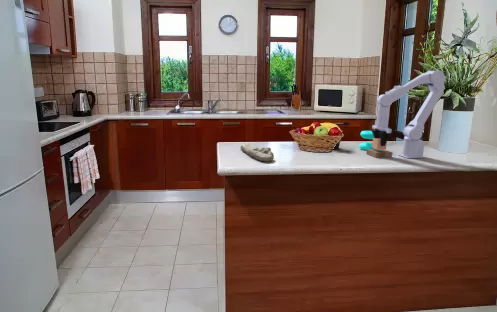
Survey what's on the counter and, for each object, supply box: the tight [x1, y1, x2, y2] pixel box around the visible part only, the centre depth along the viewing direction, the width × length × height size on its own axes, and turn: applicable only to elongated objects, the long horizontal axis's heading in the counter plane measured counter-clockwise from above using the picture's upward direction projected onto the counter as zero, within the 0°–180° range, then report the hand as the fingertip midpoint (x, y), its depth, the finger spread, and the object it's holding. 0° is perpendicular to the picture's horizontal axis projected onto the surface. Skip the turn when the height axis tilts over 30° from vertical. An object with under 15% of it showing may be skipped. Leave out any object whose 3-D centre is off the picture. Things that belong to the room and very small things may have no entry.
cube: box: [372, 138, 388, 150], centre depth 182 cm, size 5×5×5 cm
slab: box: [365, 149, 393, 159], centre depth 183 cm, size 9×9×3 cm
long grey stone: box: [240, 143, 275, 162], centre depth 180 cm, size 35×5×10 cm
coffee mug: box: [333, 130, 344, 150], centre depth 198 cm, size 12×9×10 cm
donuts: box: [358, 130, 375, 151], centre depth 198 cm, size 10×10×10 cm
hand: (379, 144), depth 182 cm, fingers closed on cube, 5 cm apart
